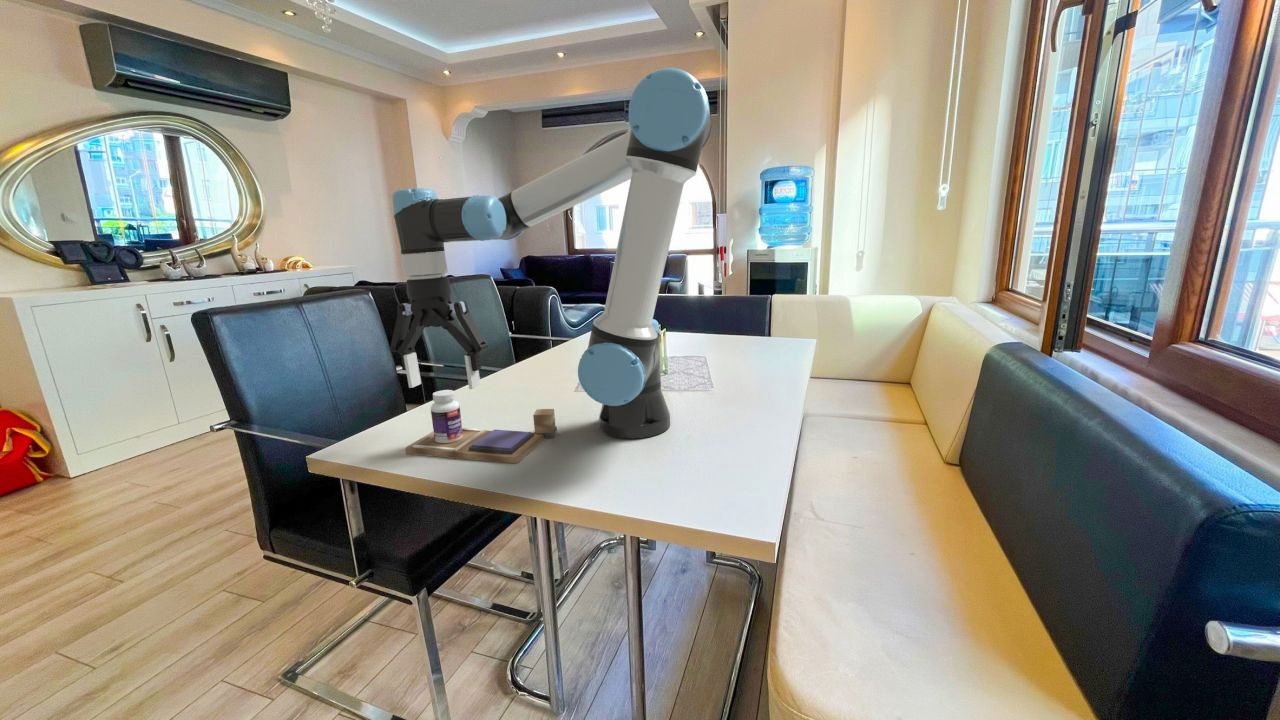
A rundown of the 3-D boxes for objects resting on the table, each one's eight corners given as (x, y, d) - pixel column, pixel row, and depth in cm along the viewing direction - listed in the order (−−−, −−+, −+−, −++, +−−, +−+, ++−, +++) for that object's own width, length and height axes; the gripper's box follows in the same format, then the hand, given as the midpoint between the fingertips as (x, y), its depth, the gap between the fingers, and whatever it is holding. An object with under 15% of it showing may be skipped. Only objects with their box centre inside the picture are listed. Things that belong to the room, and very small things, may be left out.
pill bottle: (454, 444, 100) (448, 397, 98) (429, 443, 101) (422, 396, 99) (468, 434, 105) (463, 388, 103) (444, 433, 107) (438, 388, 104)
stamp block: (556, 430, 109) (555, 408, 108) (553, 438, 105) (551, 414, 104) (538, 431, 109) (536, 408, 108) (534, 438, 105) (532, 415, 104)
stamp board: (543, 440, 104) (542, 429, 104) (517, 463, 94) (515, 452, 93) (441, 432, 111) (440, 422, 110) (406, 453, 100) (404, 442, 100)
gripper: (497, 272, 96) (511, 381, 101) (386, 277, 103) (404, 380, 108) (474, 275, 89) (490, 393, 94) (356, 281, 96) (377, 390, 101)
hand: (444, 386), depth 101 cm, fingers open, 13 cm apart
